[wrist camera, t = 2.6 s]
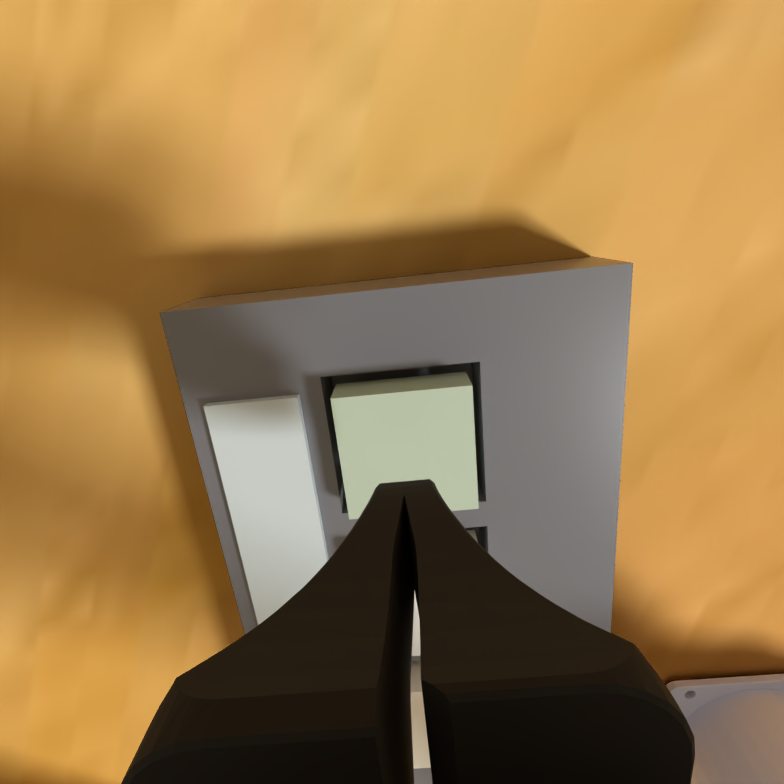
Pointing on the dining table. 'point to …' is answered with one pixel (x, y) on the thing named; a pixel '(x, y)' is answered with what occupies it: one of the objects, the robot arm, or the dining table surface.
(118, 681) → the dining table surface
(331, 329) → the keypad
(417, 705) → the cream key
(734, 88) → the dining table surface
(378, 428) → the sage key
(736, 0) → the dining table surface
